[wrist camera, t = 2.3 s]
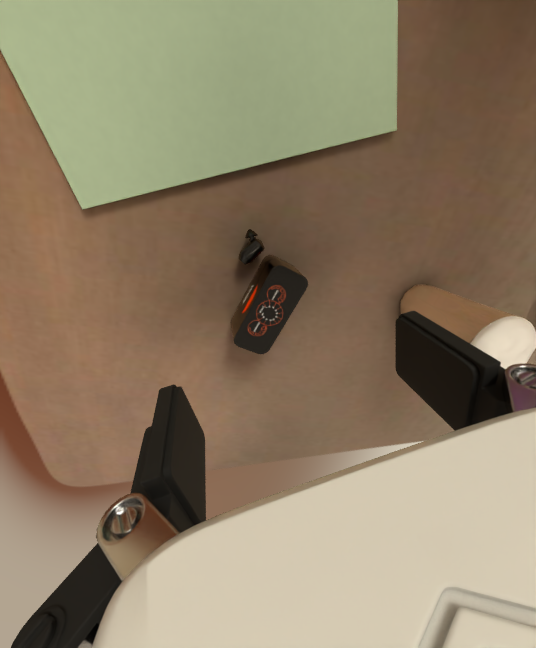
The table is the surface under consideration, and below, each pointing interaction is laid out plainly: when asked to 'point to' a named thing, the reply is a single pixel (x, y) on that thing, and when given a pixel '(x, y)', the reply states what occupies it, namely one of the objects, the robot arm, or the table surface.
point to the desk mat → (198, 84)
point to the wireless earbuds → (265, 299)
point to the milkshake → (474, 323)
